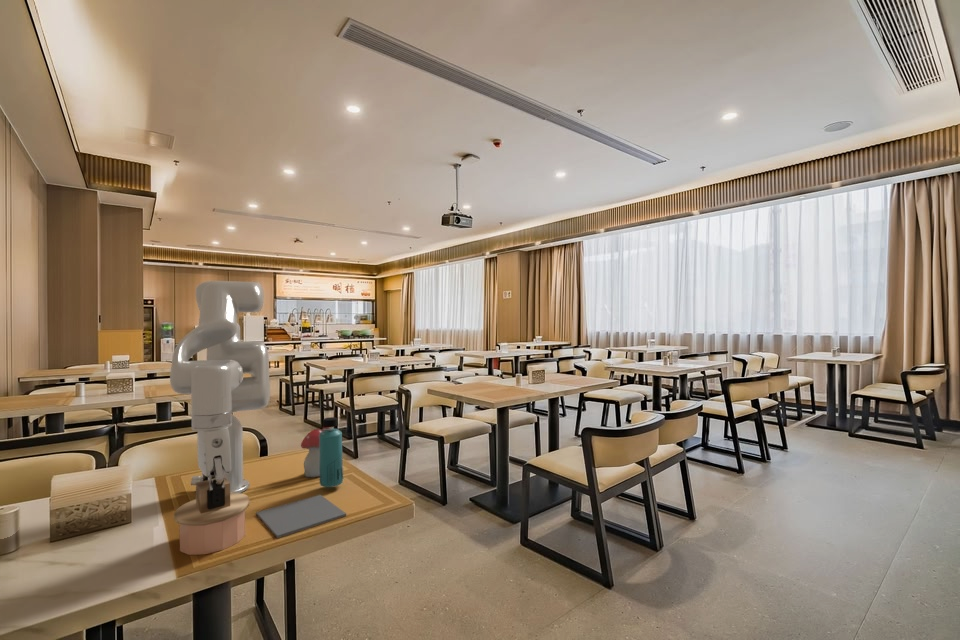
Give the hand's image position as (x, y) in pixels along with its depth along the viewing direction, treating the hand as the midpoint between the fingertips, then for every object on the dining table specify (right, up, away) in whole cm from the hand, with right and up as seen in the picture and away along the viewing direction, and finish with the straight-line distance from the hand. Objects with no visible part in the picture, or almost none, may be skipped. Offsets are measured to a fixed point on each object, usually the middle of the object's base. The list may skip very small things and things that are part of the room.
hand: (213, 501), depth 96 cm
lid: (0, -2, 0) cm, 2 cm away
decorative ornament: (+8, -8, +40) cm, 42 cm away
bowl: (0, -8, 0) cm, 8 cm away
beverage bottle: (+16, -8, +29) cm, 34 cm away
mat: (+15, -8, +11) cm, 20 cm away
